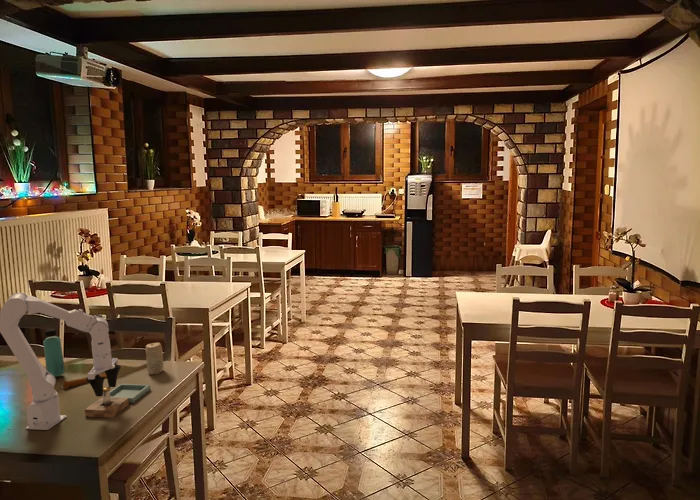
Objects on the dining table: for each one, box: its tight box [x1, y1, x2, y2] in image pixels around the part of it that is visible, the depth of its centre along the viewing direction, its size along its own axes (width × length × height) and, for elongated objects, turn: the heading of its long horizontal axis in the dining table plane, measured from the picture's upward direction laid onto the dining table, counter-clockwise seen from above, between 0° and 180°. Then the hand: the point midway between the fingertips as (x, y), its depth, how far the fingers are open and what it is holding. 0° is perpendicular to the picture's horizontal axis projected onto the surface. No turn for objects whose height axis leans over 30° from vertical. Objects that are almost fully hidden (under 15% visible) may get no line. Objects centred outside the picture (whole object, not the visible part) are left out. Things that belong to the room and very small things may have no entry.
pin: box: [101, 386, 111, 406], centre depth 185 cm, size 3×3×8 cm
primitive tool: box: [62, 372, 107, 390], centre depth 213 cm, size 19×6×4 cm, turn 140°
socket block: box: [84, 396, 130, 419], centre depth 186 cm, size 10×10×2 cm
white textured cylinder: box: [145, 342, 164, 376], centre depth 219 cm, size 6×8×12 cm
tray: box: [110, 383, 151, 404], centre depth 197 cm, size 12×12×2 cm
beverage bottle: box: [42, 328, 66, 377], centre depth 217 cm, size 6×7×20 cm
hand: (106, 391), depth 185 cm, fingers open, 7 cm apart
